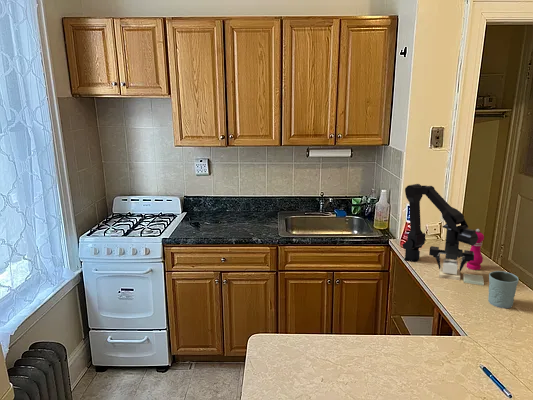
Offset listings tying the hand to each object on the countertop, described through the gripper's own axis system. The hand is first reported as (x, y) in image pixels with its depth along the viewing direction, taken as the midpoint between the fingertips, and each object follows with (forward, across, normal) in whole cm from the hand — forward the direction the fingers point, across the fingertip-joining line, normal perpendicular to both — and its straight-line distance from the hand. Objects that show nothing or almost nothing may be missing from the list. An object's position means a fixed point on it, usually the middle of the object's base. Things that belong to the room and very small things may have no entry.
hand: (449, 270), depth 185 cm
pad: (+2, +10, -2) cm, 10 cm away
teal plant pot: (+3, +19, -21) cm, 28 cm away
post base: (+2, 0, 0) cm, 2 cm away
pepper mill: (+3, +11, +13) cm, 17 cm away
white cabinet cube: (0, 0, 0) cm, 0 cm away
